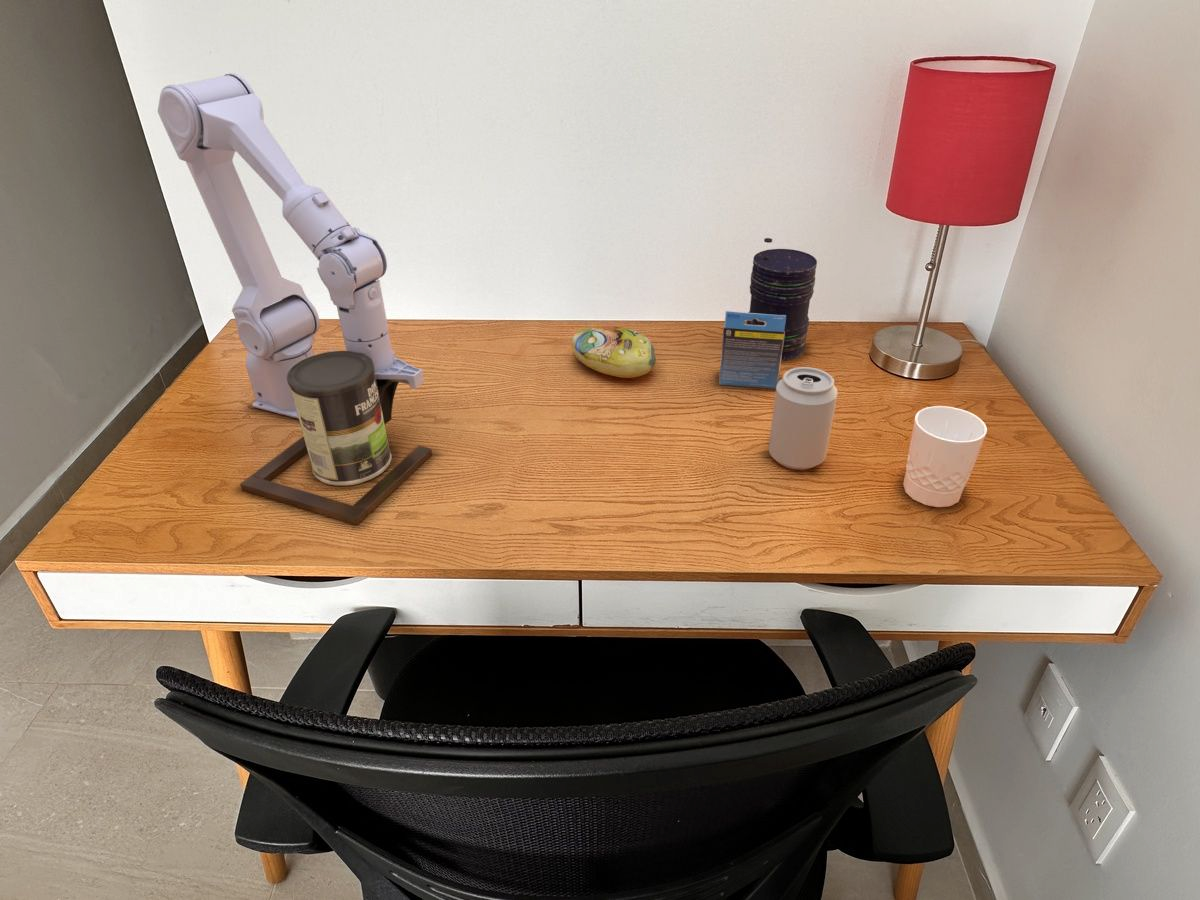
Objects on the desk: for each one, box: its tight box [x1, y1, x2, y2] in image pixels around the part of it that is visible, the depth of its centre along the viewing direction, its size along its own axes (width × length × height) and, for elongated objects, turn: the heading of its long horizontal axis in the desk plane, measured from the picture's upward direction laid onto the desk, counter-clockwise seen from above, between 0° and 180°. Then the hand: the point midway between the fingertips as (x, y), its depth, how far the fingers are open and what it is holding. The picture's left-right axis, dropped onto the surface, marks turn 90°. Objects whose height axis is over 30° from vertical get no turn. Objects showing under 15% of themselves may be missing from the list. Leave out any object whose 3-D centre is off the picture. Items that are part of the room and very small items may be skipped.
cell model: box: [571, 325, 657, 379], centre depth 125 cm, size 11×8×15 cm
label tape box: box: [718, 310, 786, 390], centre depth 118 cm, size 9×4×12 cm, turn 80°
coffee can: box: [287, 350, 392, 487], centre depth 101 cm, size 10×10×14 cm
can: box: [768, 366, 838, 471], centre depth 102 cm, size 8×8×12 cm
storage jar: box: [745, 237, 818, 362], centre depth 126 cm, size 10×10×18 cm
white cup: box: [902, 405, 988, 508], centre depth 96 cm, size 8×8×10 cm
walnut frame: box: [239, 435, 433, 526], centre depth 103 cm, size 18×16×1 cm
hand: (383, 421), depth 110 cm, fingers closed, pressing on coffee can
